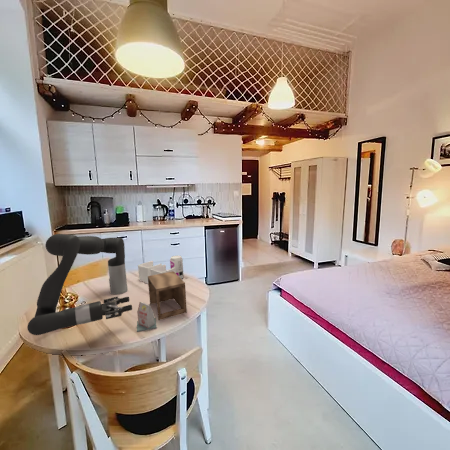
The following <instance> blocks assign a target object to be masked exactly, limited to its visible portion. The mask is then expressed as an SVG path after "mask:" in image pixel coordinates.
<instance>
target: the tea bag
mask: <svg viewBox="0 0 450 450" xmlns="http://www.w3.org/2000/svg"><path fill="white" fill-rule="evenodd" d="M136 313H137V321H138V324H140V325H142V326H145V327H147V328H149V327H151V326H153V325H154V324H155V322H154V318H155V312H154V310H153V309H152V307H151V305H150V304H147V303H145V302H142V301H139V304H138V308H137V312H136Z"/></svg>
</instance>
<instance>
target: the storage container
mask: <svg viewBox="0 0 450 450" xmlns="http://www.w3.org/2000/svg"><path fill="white" fill-rule="evenodd" d="M166 267H167V265H166V264H162V263H159V264H155V265H154V261H153V260H151V261H150V260H149V261H146V262H143V263H141V264H138V265H137V270H138V280H140V282H142V281H143V282H142V283H144V282H145V284H147V285H148V276H151V275H157V274H162V273H167V272H172V271H174V272H175V273H176V270H175V267H174V268H172V269H171V268H170V269H167V268H166Z"/></svg>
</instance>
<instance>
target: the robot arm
mask: <svg viewBox="0 0 450 450" xmlns="http://www.w3.org/2000/svg"><path fill="white" fill-rule="evenodd" d="M125 249H126V248H125V240H124V239H123V238H122V237H106V238H101V237H99V236H95V235H94V236H93V235H84V236H83V235H80V236H78V235H74V234H65V233H64V234H63V233H57V234H53V235H51V236H49V238H47V239H46V241H45V250H46V252H47V253H48V254H50V255H52V256H55V257H57V256H58V257H61V260H60V262H59V264H58V265H57V267H56V269H55V270H54V271H53V272H51V274H50V275H48V277H47V278H46V279H45V281H44V282H43V284H42V285H41V288H40V291H39V294H38V297H37V300H36V301H37V302H36V307H37V308H36V311H35V314H34V317H32V318H31V319H30V320H29V322H28V323H27V331H28V333H30V334H31V335H33V336H41V335H44V334H48V333H51V332H54V331H57V330H61V329H66V328H70V327H71V328H72V327H75V326H79V325H86V324H89V323H93V322H97V321H101V320H103V317H104V316H105V319H106V320H109V319H115V318H119V317H121V316H122V315H123V313H124V312H130V311H132V310H133V305H132V304H127V305H124V306H119V305H120V304H125V303H128V302H130V297H129V296H125V297H119V296H113V297H108V298H106V299H103V303H102V302H101V301H100V300H99V301H93V302H89V303H84V304H81V305H79V306H75V307H70V308H66V309H63V310H60V311H57V306H58V303H59V300H60V298H61V294H62V290H63V288H64V284H65V281H66V280H67V277H68V275H69V273H70V271H71V269H72V267H73V265H74V263H75V260H76V258H77V256H78V254H79V255H89V256H91V255H98V254H100V253H105V254H115V257H112V258H110V259H108V260H107V268H108V276H109V278H108V283H109V290H110V291H109V293H110V295H122V294H124V293H127V292H128V281H127V271H126V261H125V260H126V251H125Z"/></svg>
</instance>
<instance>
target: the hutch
mask: <svg viewBox="0 0 450 450" xmlns="http://www.w3.org/2000/svg"><path fill="white" fill-rule="evenodd" d="M147 286H148V296H149V305H150V306H151V305H154V304H156V309H157V320H158V321H160V320H161V321H162V320H165V319H169V318H172V317H173V318H174V317H176V316H180V315H182V314H186V313H187V312H188V310H187V307H188V306H187V294H186V292H187V291H186V282H185V281H184V280H183V278H182V279H181V278H180V277H179V276H178V275H177V274H176V273H175V272H174V271H172V272H167V273H162V274H157V275H151V276H148V284H147ZM172 300H174V301H175V303H176V304H177V306H179V308H177V309H173V310H170V311H166V312H162V311H161V303H162V302H167V301H172Z"/></svg>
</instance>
